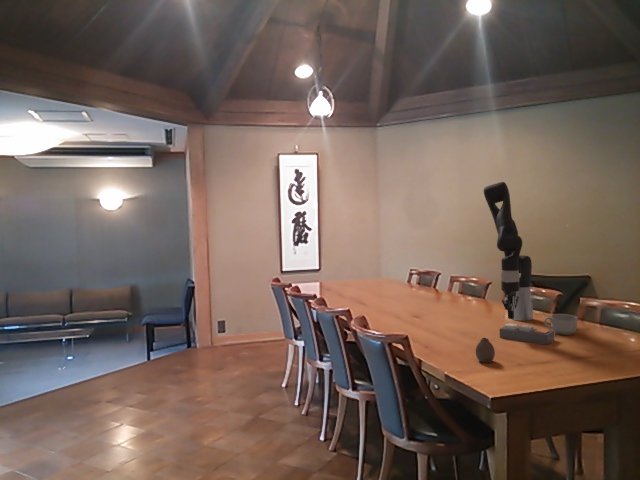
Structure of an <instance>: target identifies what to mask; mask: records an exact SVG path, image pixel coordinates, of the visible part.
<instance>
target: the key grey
mask: <svg viewBox="0 0 640 480" xmlns="http://www.w3.org/2000/svg"><path fill="white" fill-rule="evenodd" d="M534 329H535V327H534V325H527V324H526V325H525V324H522V325H521V326H519V331H526V332H531V331H533V330H534Z"/></svg>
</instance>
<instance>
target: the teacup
mask: <svg viewBox="0 0 640 480" xmlns="http://www.w3.org/2000/svg"><path fill="white" fill-rule="evenodd" d="M548 320H549V321H550V324H549V323H547V321H548ZM543 323H544V325H545V326H546V327H548V328H549V329H550V330H551V331H554V333H556V334H558V335H562V336H571V335H573V334H574V333H575V332H576V331H577V329H578V328H577V327H578V316H575V315H573V314H568V313H554V314H551V316H546V317H544V319H543Z"/></svg>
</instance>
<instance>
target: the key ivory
mask: <svg viewBox="0 0 640 480" xmlns="http://www.w3.org/2000/svg"><path fill="white" fill-rule="evenodd" d="M503 327H504V329H511V330H516V329H518V328H519V327H520V326H519V324H517V323H506V324H504V325H503Z"/></svg>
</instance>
